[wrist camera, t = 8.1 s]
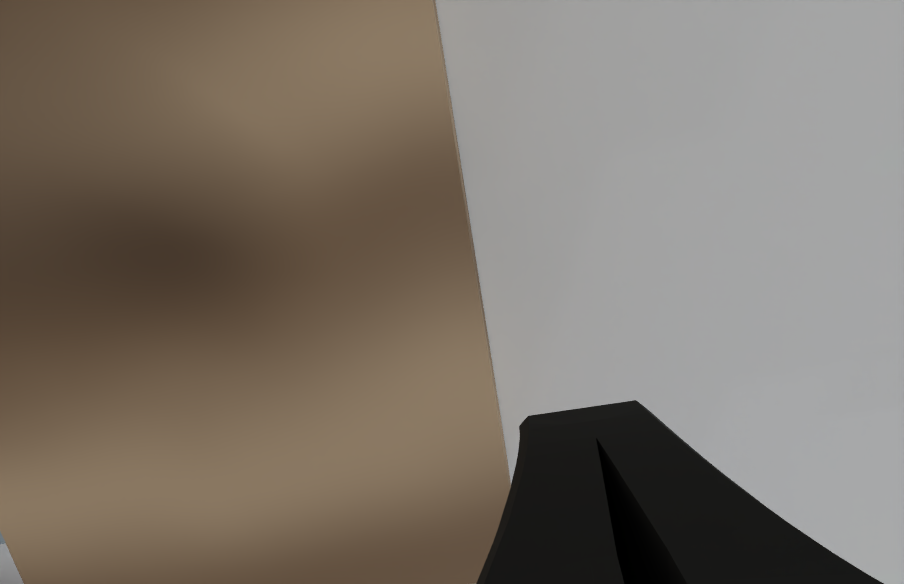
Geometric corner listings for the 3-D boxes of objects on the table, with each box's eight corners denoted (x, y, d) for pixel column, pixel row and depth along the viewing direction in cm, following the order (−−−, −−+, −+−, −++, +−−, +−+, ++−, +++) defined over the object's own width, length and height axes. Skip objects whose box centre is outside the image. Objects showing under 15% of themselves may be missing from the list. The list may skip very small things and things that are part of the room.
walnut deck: (508, 464, 20) (523, 576, 17) (120, 520, 21) (50, 641, 17) (408, -167, 15) (399, -210, 11) (-107, -74, 15) (-279, -87, 12)
